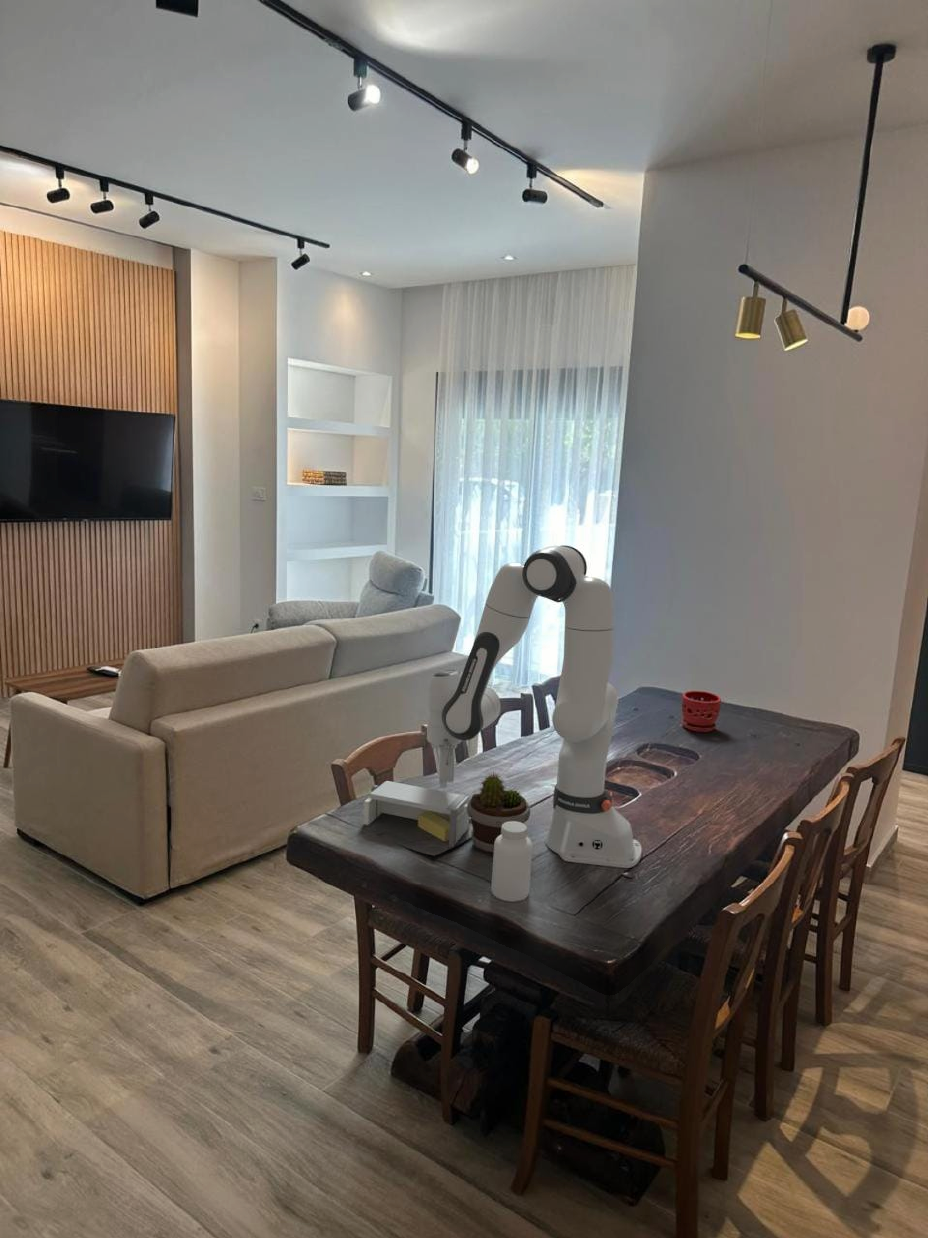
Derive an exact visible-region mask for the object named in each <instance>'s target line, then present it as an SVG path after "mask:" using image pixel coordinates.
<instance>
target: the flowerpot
mask: <svg viewBox="0 0 928 1238" xmlns="http://www.w3.org/2000/svg"><path fill="white" fill-rule="evenodd" d="M496 772H497V771H496ZM496 772H495V771H494V770H493V771H492V774H489V775H488V774H487V775H485V776H484V777H483V779H484V780H483V781H481V782H479V784H480V785H481V786H482V787H479V793H474V794H473V795H472V797H470V799H469V800H468V802H467V804H468V805H467V813H468V816H469V817H470V818H469V819H470V821H471V826H472V830H471V832H470V833H471V834H470V836H471V841H472V843H473V845H474V846H475V848H476V849H477V850H478V851H480V852H481V853H484V854H486V855H489V856H494V843H495V840H496V838H497V837H498V836H499V835H501V826H502V824H503V823H505V822H509V821H516V822H521V823H523V824H525V823H526V822H528V820H529V819H530V816H531V809H530V805H529V803H528V802H527V801H526V798H524V796H522V795H521V790H519V788H517V789H509V790H507V789H506V786H504V783H505V781H506V780H504V779H503V777H501V776H499V773H496ZM505 784H506V783H505ZM517 790H519V791H517Z"/></svg>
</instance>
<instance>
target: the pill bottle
mask: <svg viewBox="0 0 928 1238" xmlns="http://www.w3.org/2000/svg"><path fill="white" fill-rule="evenodd" d="M492 856H493V855H492ZM532 857H533V843H532V841H531V839H530V837H528V827H527V825H526V824H525V823H524V824H523V823H521V822H516V821H509V822H505V823H503V824H502V826H501V835H499V836H498V837H497V838H496V840H495V843H494V856H493V859H492V873H491V874H492V875H491V886H490V887H491V894H492V895H494V897H496V898H497V899H499V900H501V901H505V902H512V903H513V902H514V903H515V902H520V901H523V900H525V899H526V898H527V897H528V896H529V893H530V883H531V873H532V871H531V870H532V859H533V858H532Z"/></svg>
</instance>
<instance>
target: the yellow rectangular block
mask: <svg viewBox="0 0 928 1238" xmlns="http://www.w3.org/2000/svg"><path fill="white" fill-rule="evenodd" d="M417 823H418V824H417V827H418V828H420V829H422V830H424V831H425V832H427V833H429V834H430V833H431V834H430V835H433V836H434V837H436V838H438V839H439V840H441V841H443V842H444V841H445V842H448V841H449V832H450V822H449V821H447V820H445V819H443V818H441V817H439V816H438V815H436V814H434V813H432V812H430V811H428V812H425V813H421V814H418V820H417Z"/></svg>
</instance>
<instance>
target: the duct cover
mask: <svg viewBox="0 0 928 1238" xmlns="http://www.w3.org/2000/svg"><path fill="white" fill-rule="evenodd" d="M370 790H371V793H369V797H370V798H371V799H376V800H381V801H386V802H391V803H396V804H401V805H406V806H410V807H415V808H420V809H425V810H430V811H435V812H440V813H445V814H450V812H451V808H452V807H453V808H457V813H458V812H459V811H460V810H461V809H462V808H463V806H464V805H465V804H468V802H469V800H470V799H469V797H470V796H468V795H466V794H463V793H455V792H454V793H453V792H448V791H442V790H437V789H431V788H427V787H422V786H416V785H412V784H411V785H410V784H406V783H400V782H395V781H390V780H386V781H384V782H383V783H381V784H380V785H378V784H373V785H371V788H370Z"/></svg>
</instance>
